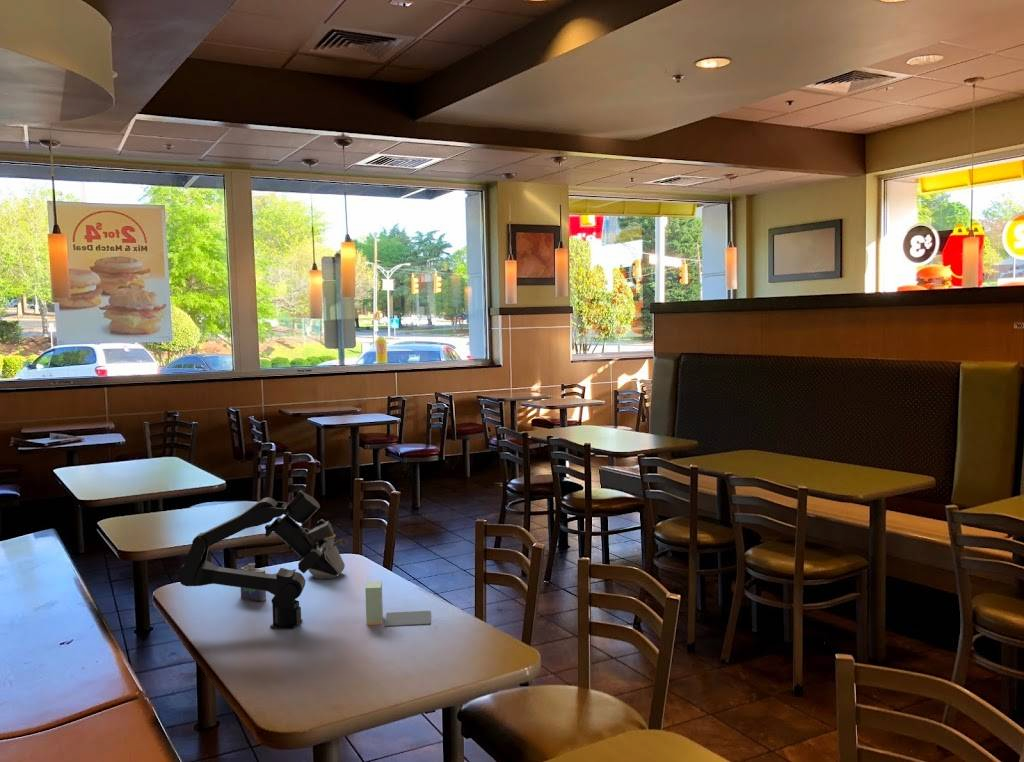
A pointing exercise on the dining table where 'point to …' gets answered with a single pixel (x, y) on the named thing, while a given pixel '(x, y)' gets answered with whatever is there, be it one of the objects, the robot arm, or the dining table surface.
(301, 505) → the robot arm
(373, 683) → the dining table surface
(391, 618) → the mat
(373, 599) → the block
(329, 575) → the coffee pot
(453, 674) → the dining table surface
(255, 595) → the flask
